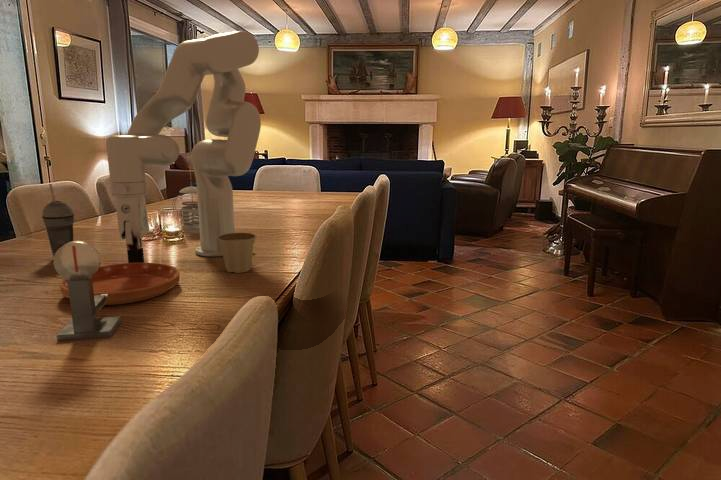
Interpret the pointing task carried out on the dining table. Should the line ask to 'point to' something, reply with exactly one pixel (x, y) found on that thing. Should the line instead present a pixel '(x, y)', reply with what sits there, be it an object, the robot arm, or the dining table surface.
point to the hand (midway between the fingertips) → (136, 264)
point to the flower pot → (237, 251)
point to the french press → (189, 210)
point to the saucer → (131, 281)
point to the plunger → (104, 302)
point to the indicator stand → (82, 292)
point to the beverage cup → (58, 223)
